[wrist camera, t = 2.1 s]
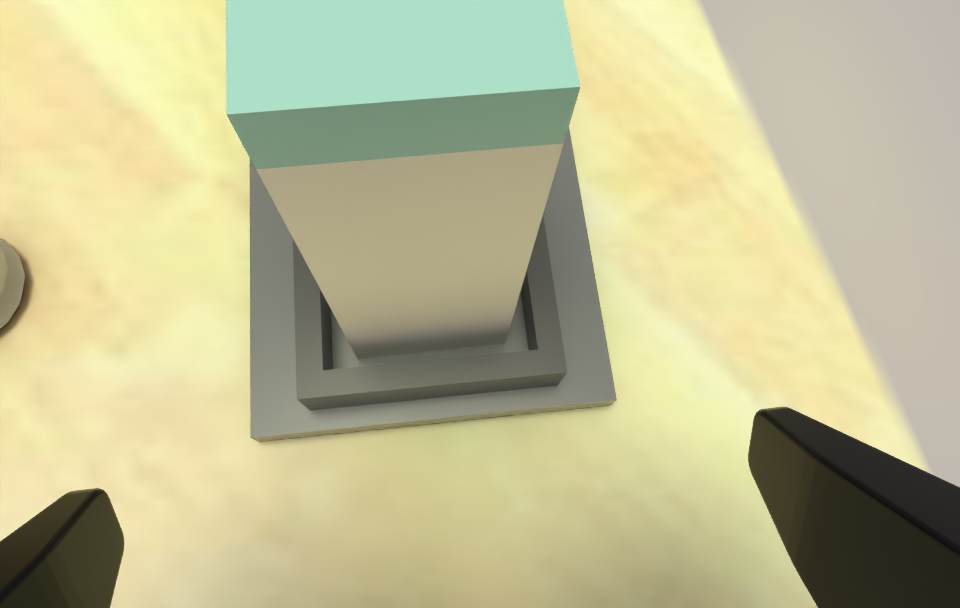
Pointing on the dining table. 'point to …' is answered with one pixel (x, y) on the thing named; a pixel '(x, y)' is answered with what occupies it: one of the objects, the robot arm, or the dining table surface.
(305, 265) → the board
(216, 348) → the dining table surface
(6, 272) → the rook chess piece
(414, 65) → the plug
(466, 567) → the dining table surface
